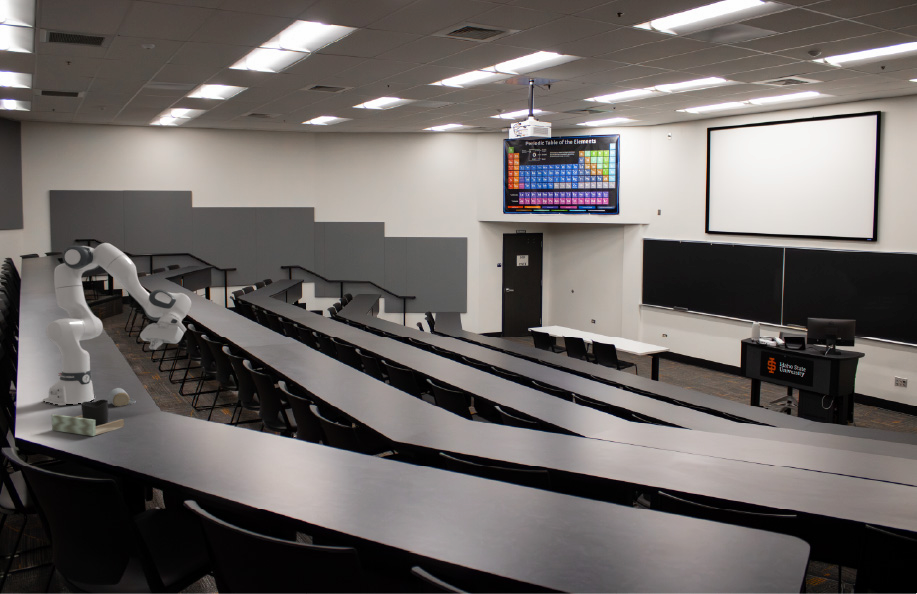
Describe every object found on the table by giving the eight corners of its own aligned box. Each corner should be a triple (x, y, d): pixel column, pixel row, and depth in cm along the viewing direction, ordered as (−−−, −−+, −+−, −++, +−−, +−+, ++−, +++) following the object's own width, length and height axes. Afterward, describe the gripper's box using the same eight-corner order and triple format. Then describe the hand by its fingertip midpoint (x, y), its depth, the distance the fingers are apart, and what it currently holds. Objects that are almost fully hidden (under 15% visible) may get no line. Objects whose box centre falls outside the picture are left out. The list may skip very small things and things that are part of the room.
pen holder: (99, 430, 271) (97, 406, 270) (77, 429, 272) (75, 405, 271) (114, 423, 280) (112, 399, 279) (92, 422, 281) (91, 398, 280)
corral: (52, 430, 270) (51, 415, 270) (84, 421, 284) (83, 407, 284) (93, 435, 263) (92, 420, 263) (123, 426, 277) (123, 412, 276)
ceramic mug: (113, 409, 307) (112, 392, 306) (108, 405, 313) (107, 389, 312) (138, 405, 314) (138, 389, 313) (133, 402, 320) (132, 385, 319)
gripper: (146, 318, 315) (130, 342, 307) (182, 321, 308) (166, 346, 300) (154, 327, 320) (138, 350, 312) (189, 329, 313) (173, 354, 304)
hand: (152, 348), depth 306 cm, fingers closed
